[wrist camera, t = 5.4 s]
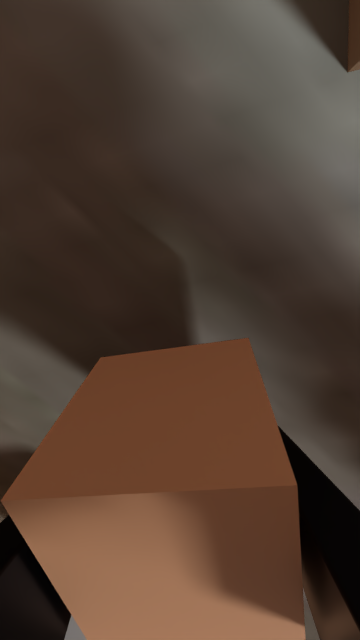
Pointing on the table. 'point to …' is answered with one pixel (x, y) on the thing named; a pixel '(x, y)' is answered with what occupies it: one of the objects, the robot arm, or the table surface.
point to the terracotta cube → (168, 501)
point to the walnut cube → (354, 36)
